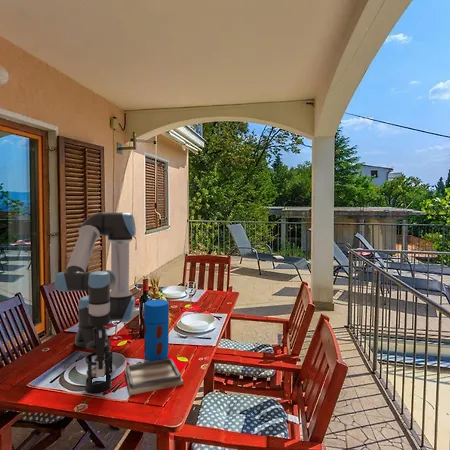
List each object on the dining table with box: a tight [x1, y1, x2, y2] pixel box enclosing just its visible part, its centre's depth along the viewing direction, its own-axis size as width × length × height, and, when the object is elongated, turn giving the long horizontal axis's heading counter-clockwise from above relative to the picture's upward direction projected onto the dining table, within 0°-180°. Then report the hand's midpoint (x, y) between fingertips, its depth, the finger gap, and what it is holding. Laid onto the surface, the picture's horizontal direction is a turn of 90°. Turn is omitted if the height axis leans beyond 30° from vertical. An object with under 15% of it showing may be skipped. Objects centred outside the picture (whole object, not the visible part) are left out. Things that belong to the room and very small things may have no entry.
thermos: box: [143, 299, 170, 362], centre depth 152 cm, size 11×11×25 cm
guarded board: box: [124, 357, 184, 396], centre depth 134 cm, size 18×20×3 cm
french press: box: [84, 327, 113, 395], centre depth 126 cm, size 12×9×23 cm
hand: (99, 367), depth 127 cm, fingers open, 13 cm apart
